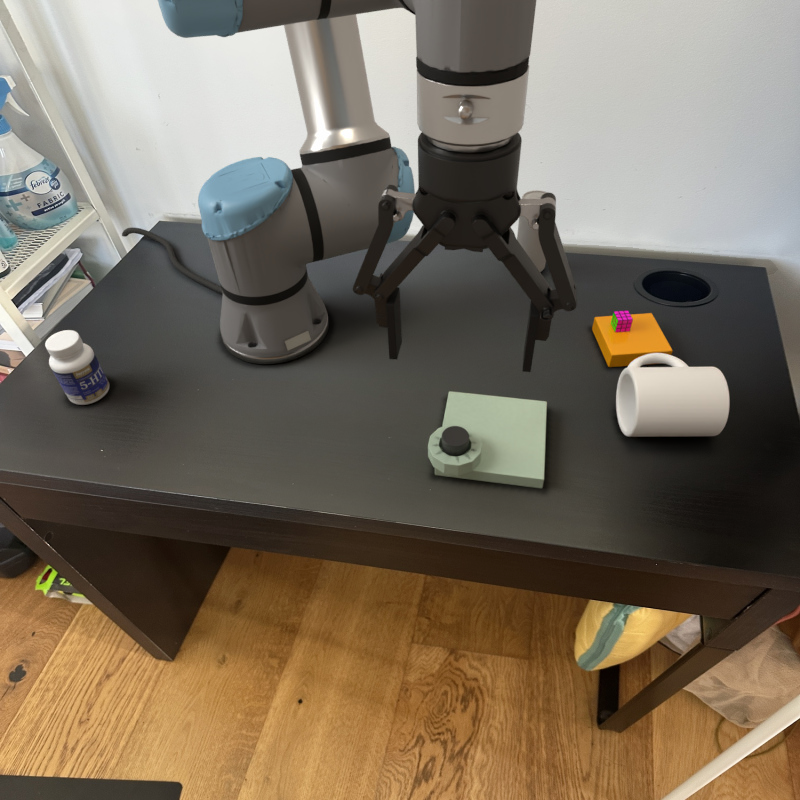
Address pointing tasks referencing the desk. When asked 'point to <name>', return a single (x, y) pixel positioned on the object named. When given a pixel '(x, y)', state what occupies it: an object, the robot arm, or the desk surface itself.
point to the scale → (494, 439)
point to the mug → (671, 398)
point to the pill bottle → (76, 368)
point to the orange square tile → (629, 337)
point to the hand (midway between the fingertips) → (460, 356)
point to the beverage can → (531, 235)
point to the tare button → (455, 441)
